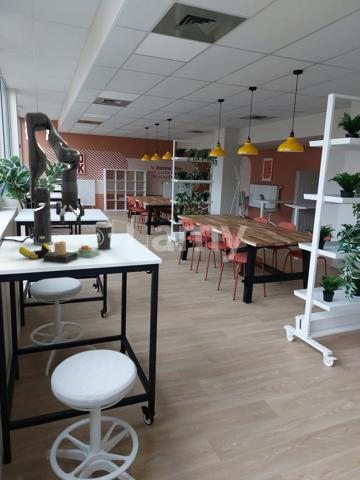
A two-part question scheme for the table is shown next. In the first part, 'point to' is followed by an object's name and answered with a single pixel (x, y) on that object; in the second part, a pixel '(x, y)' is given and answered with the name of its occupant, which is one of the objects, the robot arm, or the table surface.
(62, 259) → the panel
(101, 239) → the coffee cup
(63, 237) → the table surface
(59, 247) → the knob
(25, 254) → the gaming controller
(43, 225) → the robot arm
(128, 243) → the table surface
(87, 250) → the button box
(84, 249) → the button
